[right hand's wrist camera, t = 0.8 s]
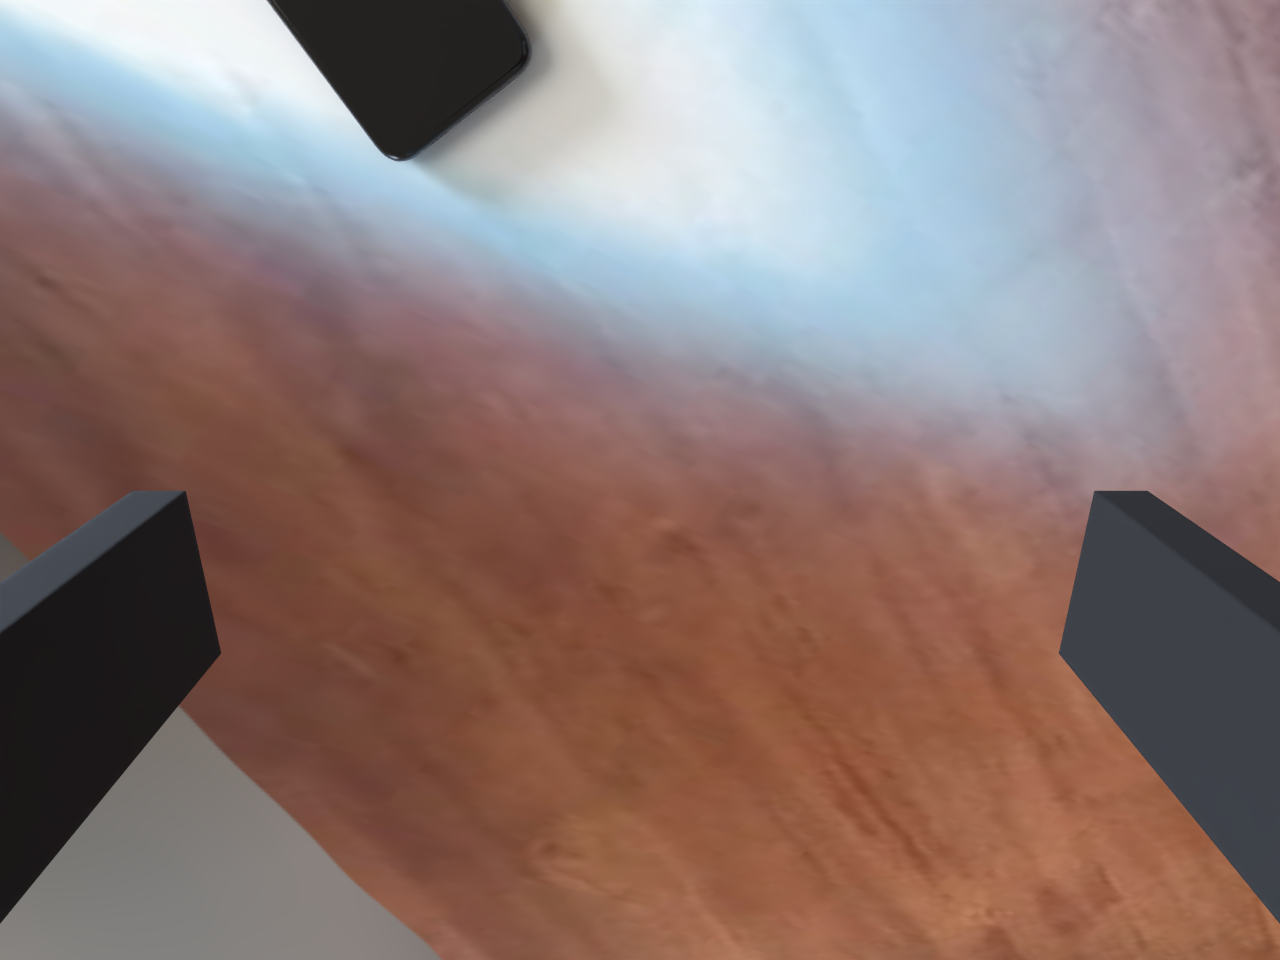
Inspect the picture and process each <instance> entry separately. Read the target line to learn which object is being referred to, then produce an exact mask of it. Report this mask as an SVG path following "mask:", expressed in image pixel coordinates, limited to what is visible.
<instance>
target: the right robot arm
mask: <svg viewBox="0 0 1280 960" xmlns="http://www.w3.org/2000/svg"><path fill="white" fill-rule="evenodd" d="M220 654H221V651H220V646H219V641H218V637H217V632H216V628H215V623H214V619H213V614H212V609H211V605H210V600H209V596H208V591H207V587H206V582H205V577H204V573H203V568H202V564H201V559H200V555H199V550H198V545H197V541H196V536H195V532H194V527H193V523H192V518H191V513H190V509H189V504H188V500H187V495H186V491H132V492H130V493H129V494H127V495H126V496H124V497H123V498H122V499H120V500H119V501H117V502H116V503H114V504H113V505H111V506H110V507H109V508H107V509H106V510H104V511H103V512H101V513H100V514H98V515H97V516H95V517H94V518H93V519H91V520H90V521H88V522H87V523H85V524H84V525H82V526H81V527H80V528H78V529H77V530H75V531H74V532H72V533H71V534H69V535H68V536H66V537H65V538H64V539H62V540H61V541H59V542H58V543H56V544H55V545H53V546H52V547H51V548H49V549H48V550H46V551H45V552H43V553H42V554H40V555H39V556H37V557H36V558H35V559H33V560H32V561H30V562H29V563H27V564H26V565H24V566H23V567H21V568H20V569H19V570H17V571H16V572H14V573H13V574H11V575H10V576H8V577H7V578H6V579H4V580H3V581H1V582H0V923H1V922H2V921H3V919H4V918H5V917H6V916H7V915H8V913H9V912H10V911H11V910H12V908H13V907H14V906H15V905H16V904H17V902H18V901H19V900H20V899H21V897H22V896H23V895H24V894H25V892H26V891H27V890H28V889H29V888H30V886H31V885H32V884H33V883H34V882H35V880H36V879H37V878H38V877H39V875H40V874H41V873H42V872H43V870H44V869H45V868H46V867H47V866H48V864H49V863H50V862H51V861H52V859H53V858H54V857H55V856H56V855H57V853H58V852H59V851H60V850H61V848H62V847H63V846H64V845H65V844H66V842H67V841H68V840H69V839H70V837H71V836H72V835H73V834H74V833H75V831H76V830H77V829H78V828H79V826H80V825H81V824H82V823H83V822H84V820H85V819H86V818H87V817H88V815H89V814H90V813H91V812H92V811H93V809H94V808H95V807H96V806H97V804H98V803H99V802H100V801H101V800H102V798H103V797H104V796H105V795H106V793H107V792H108V791H109V790H110V789H111V787H112V786H113V785H114V784H115V782H116V781H117V780H118V779H119V778H120V776H121V775H122V774H123V773H124V771H125V770H126V769H127V768H128V766H129V765H130V764H131V763H132V762H133V760H134V759H135V758H136V757H137V756H138V754H139V753H140V752H141V751H142V749H143V748H144V747H145V746H146V745H147V743H148V742H149V741H150V740H151V738H152V737H153V736H154V735H155V733H156V732H157V731H158V730H159V729H160V727H161V726H162V725H163V724H164V723H165V721H166V720H167V719H168V718H169V716H170V715H171V714H172V713H173V712H174V710H175V709H176V708H177V707H178V705H179V704H180V703H181V702H182V701H183V699H184V698H185V697H186V696H187V694H188V693H189V692H190V691H191V690H192V688H193V687H194V686H195V685H196V683H197V682H198V681H199V680H200V679H201V677H202V676H203V675H204V674H205V672H206V671H207V670H208V669H209V667H210V666H211V665H212V664H213V663H214V661H215V660H216V659H217V658H218V656H219V655H220ZM1059 654H1060V655H1061V656H1062V658H1063V659H1064V660H1065V661H1066V663H1067V664H1068V665H1069V666H1070V667H1071V669H1072V670H1073V671H1074V672H1075V674H1076V675H1077V676H1078V677H1079V679H1080V680H1081V681H1082V682H1083V683H1084V685H1085V686H1086V687H1087V688H1088V690H1089V691H1090V692H1091V693H1092V694H1093V696H1094V697H1095V698H1096V699H1097V701H1098V702H1099V703H1100V704H1101V705H1102V707H1103V708H1104V709H1105V710H1106V712H1107V713H1108V714H1109V715H1110V716H1111V718H1112V719H1113V720H1114V721H1115V723H1116V724H1117V725H1118V726H1119V727H1120V729H1121V730H1122V731H1123V732H1124V734H1125V735H1126V736H1127V737H1128V738H1129V740H1130V741H1131V742H1132V743H1133V745H1134V746H1135V747H1136V748H1137V749H1138V751H1139V752H1140V753H1141V754H1142V756H1143V757H1144V758H1145V759H1146V760H1147V762H1148V763H1149V764H1150V765H1151V767H1152V768H1153V769H1154V770H1155V771H1156V773H1157V774H1158V775H1159V776H1160V778H1161V779H1162V780H1163V781H1164V782H1165V784H1166V785H1167V786H1168V787H1169V789H1170V790H1171V791H1172V792H1173V793H1174V795H1175V796H1176V797H1177V798H1178V800H1179V801H1180V802H1181V803H1182V804H1183V806H1184V807H1185V808H1186V809H1187V811H1188V812H1189V813H1190V814H1191V815H1192V817H1193V818H1194V819H1195V820H1196V822H1197V823H1198V824H1199V825H1200V826H1201V828H1202V829H1203V830H1204V831H1205V833H1206V834H1207V835H1208V836H1209V837H1210V839H1211V840H1212V841H1213V842H1214V844H1215V845H1216V846H1217V847H1218V848H1219V850H1220V851H1221V852H1222V853H1223V855H1224V856H1225V857H1226V858H1227V860H1228V861H1229V862H1230V863H1231V864H1232V866H1233V867H1234V868H1235V869H1236V871H1237V872H1238V873H1239V874H1240V875H1241V877H1242V878H1243V879H1244V880H1245V882H1246V883H1247V884H1248V885H1249V886H1250V888H1251V889H1252V890H1253V891H1254V893H1255V894H1256V895H1257V896H1258V897H1259V899H1260V900H1261V901H1262V902H1263V904H1264V905H1265V906H1266V907H1267V908H1268V910H1269V911H1270V912H1271V913H1272V915H1273V916H1274V917H1275V918H1276V919H1277V921H1278V922H1279V923H1280V582H1279V581H1277V580H1276V579H1274V578H1273V577H1272V576H1270V575H1269V574H1267V573H1266V572H1264V571H1263V570H1261V569H1260V568H1259V567H1257V566H1256V565H1254V564H1253V563H1251V562H1250V561H1248V560H1247V559H1245V558H1244V557H1243V556H1241V555H1240V554H1238V553H1237V552H1235V551H1234V550H1232V549H1231V548H1230V547H1228V546H1227V545H1225V544H1224V543H1222V542H1221V541H1219V540H1218V539H1216V538H1215V537H1214V536H1212V535H1211V534H1209V533H1208V532H1206V531H1205V530H1203V529H1202V528H1200V527H1199V526H1198V525H1196V524H1195V523H1193V522H1192V521H1190V520H1189V519H1187V518H1186V517H1185V516H1183V515H1182V514H1180V513H1179V512H1177V511H1176V510H1174V509H1173V508H1171V507H1170V506H1169V505H1167V504H1166V503H1164V502H1163V501H1161V500H1160V499H1158V498H1157V497H1156V496H1154V495H1153V494H1151V493H1150V492H1148V491H1094V495H1093V500H1092V504H1091V509H1090V513H1089V518H1088V523H1087V527H1086V532H1085V536H1084V541H1083V545H1082V550H1081V555H1080V559H1079V564H1078V568H1077V573H1076V577H1075V582H1074V587H1073V591H1072V596H1071V600H1070V605H1069V609H1068V614H1067V619H1066V623H1065V628H1064V632H1063V637H1062V641H1061V646H1060V651H1059Z"/></svg>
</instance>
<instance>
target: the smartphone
mask: <svg viewBox="0 0 1280 960" xmlns="http://www.w3.org/2000/svg"><path fill="white" fill-rule="evenodd" d="M267 1H268V3H269V4H270V5H271V7H272V8H273V9H274V11H275V12H276V13H277V15H278V16H279V17H280V19H281V20H282V21H283V23H284V24H285V25H286V27H287V28H288V29H289V31H290V32H291V33H292V35H293V36H294V37H295V39H296V40H297V41H298V43H299V44H300V46H301V47H302V48H303V50H304V51H305V52H306V54H307V55H308V56H309V58H310V59H311V60H312V62H313V63H314V64H315V66H316V67H317V68H318V70H319V71H320V72H321V74H322V75H323V76H324V78H325V79H326V80H327V82H328V83H329V84H330V86H331V87H332V88H333V90H334V91H335V92H336V94H337V95H338V96H339V98H340V99H341V100H342V102H343V103H344V104H345V106H346V107H347V108H348V110H349V111H350V112H351V114H352V115H353V116H354V118H355V119H356V120H357V122H358V123H359V124H360V126H361V127H362V129H363V130H364V131H365V133H366V134H367V135H368V137H369V138H370V139H371V141H372V142H373V143H374V145H375V146H376V147H377V148H378V149H379V150H380V152H381V153H383V154H384V155H385V156H386V157H388V158H390V159H392V160H394V161H407V160H410V159H412V158H414V157H416V156H417V155H418V154H420V153H421V152H422V151H424V150H425V149H426V148H427V147H429V146H430V145H431V144H433V143H434V142H435V141H437V140H438V139H439V138H440V137H442V136H443V135H444V134H445V133H447V132H448V131H449V130H451V129H452V128H453V127H454V126H456V125H457V124H458V123H460V122H461V121H462V120H463V119H464V118H465V117H467V116H468V115H469V114H470V113H472V112H473V111H475V110H476V109H477V108H479V107H480V106H481V105H483V104H484V103H485V102H486V101H488V100H489V99H490V98H491V97H493V96H494V95H495V94H497V93H498V92H499V91H500V90H502V89H503V88H504V87H505V86H507V85H508V84H509V83H510V82H512V81H513V80H514V79H515V78H517V77H518V76H519V75H520V74H521V73H522V72H523V71H524V70H525V69H526V68H527V66H528V64H529V62H530V59H531V55H532V49H531V43H530V40H529V37H528V35H527V33H526V31H525V30H524V28H523V26H522V25H521V23H520V22H519V20H518V19H517V17H516V16H515V14H514V13H513V11H512V9H511V8H510V6H509V5H508V3H507V2H506V0H267Z"/></svg>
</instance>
